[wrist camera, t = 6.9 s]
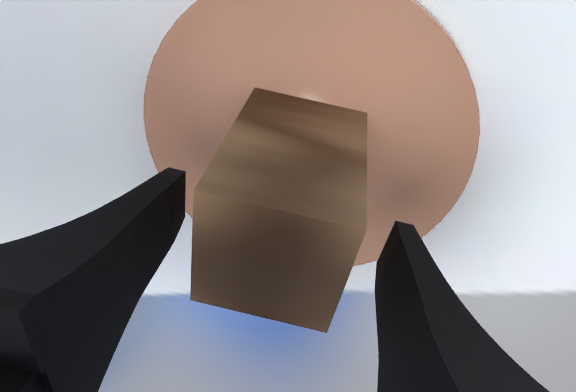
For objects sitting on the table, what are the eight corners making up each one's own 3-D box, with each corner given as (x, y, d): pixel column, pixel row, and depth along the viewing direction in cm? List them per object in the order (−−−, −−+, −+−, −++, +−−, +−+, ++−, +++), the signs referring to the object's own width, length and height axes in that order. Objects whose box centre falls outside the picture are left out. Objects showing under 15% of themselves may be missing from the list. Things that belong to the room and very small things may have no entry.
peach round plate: (271, 287, 24) (269, 297, 23) (88, 94, 18) (78, 101, 18) (525, 195, 18) (530, 206, 17) (369, -144, 12) (369, -146, 11)
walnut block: (243, 179, 19) (190, 300, 13) (254, 87, 16) (193, 190, 10) (339, 201, 18) (326, 332, 13) (367, 112, 16) (366, 230, 10)
